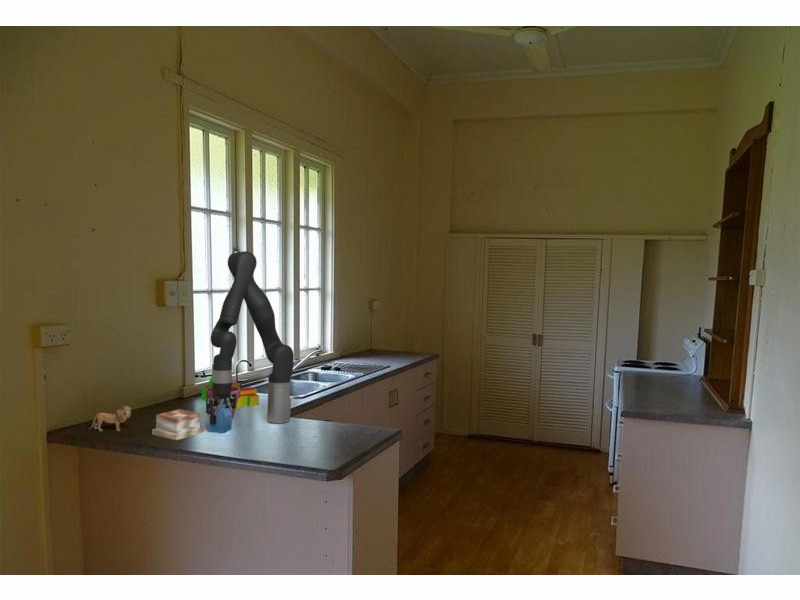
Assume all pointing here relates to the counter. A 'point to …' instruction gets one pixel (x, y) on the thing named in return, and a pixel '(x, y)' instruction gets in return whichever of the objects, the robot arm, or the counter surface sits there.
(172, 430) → the pedestal
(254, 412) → the counter surface
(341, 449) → the counter surface
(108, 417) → the lion figurine
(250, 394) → the building blocks toy
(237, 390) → the plant pot
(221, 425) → the perfume bottle
